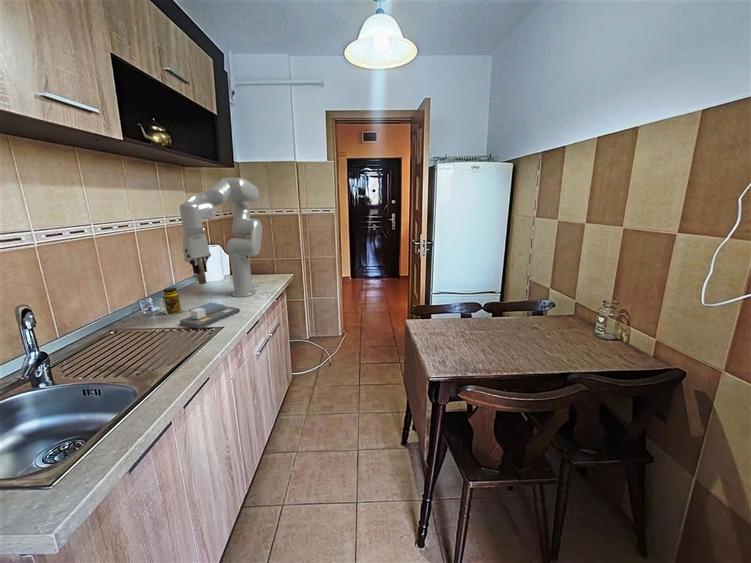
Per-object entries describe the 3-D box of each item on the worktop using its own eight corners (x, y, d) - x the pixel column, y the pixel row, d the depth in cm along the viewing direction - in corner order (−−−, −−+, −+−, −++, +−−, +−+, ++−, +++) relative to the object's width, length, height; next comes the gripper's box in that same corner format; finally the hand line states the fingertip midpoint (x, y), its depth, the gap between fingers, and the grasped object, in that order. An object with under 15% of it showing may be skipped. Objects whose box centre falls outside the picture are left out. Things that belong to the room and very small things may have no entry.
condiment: (170, 315, 158) (166, 291, 155) (161, 312, 162) (156, 289, 159) (185, 311, 164) (181, 287, 161) (176, 308, 168) (172, 285, 165)
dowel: (203, 282, 156) (197, 252, 152) (207, 282, 155) (202, 252, 151) (197, 283, 154) (192, 253, 150) (202, 284, 152) (197, 254, 149)
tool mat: (210, 303, 175) (210, 302, 174) (224, 306, 170) (224, 304, 170) (189, 310, 164) (189, 309, 164) (203, 313, 160) (203, 312, 160)
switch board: (221, 309, 166) (221, 305, 165) (239, 312, 161) (239, 308, 160) (180, 324, 146) (179, 320, 146) (199, 328, 142) (198, 324, 141)
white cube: (199, 315, 151) (198, 307, 150) (205, 316, 150) (204, 308, 149) (191, 318, 148) (190, 310, 147) (197, 319, 146) (196, 311, 145)
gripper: (203, 229, 157) (209, 268, 162) (170, 234, 142) (178, 276, 147) (215, 230, 154) (221, 269, 159) (182, 235, 139) (190, 278, 144)
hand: (200, 272), depth 153 cm, fingers closed on dowel, 3 cm apart
